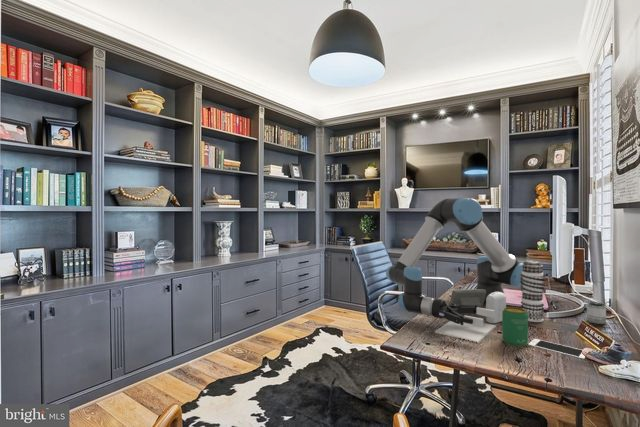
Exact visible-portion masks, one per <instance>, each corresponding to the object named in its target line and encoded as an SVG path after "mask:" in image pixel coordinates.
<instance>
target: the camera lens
mask: <svg viewBox="0 0 640 427" xmlns="http://www.w3.org/2000/svg"><path fill="white" fill-rule="evenodd" d="M586 318H587V321H588V322H589V323H593V324H600V325H604V324H606V320H607V306H606V305H605V304H604V303H601V302H596V301H594V302H593V301H591V302H588V303H587V304H586Z"/></svg>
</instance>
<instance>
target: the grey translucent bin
mask: <svg viewBox="0 0 640 427" xmlns="http://www.w3.org/2000/svg"><path fill="white" fill-rule="evenodd" d="M485 295H486V290H485V289H476V288H474V289H473V288H472V289H469V288H468V289H453V290H452V292H451V296H450V300H449V301H450V302H449V305H452V304H461V305H477V307H478V308H484V304H485V303H484V300H485ZM469 314H470V315H474V314H476V315H477V313H461V315H469Z"/></svg>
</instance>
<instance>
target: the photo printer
mask: <svg viewBox="0 0 640 427" xmlns="http://www.w3.org/2000/svg"><path fill="white" fill-rule="evenodd" d="M504 293H505V292H504ZM504 293H502V292H493V293H491V294H489V295H488V296H487V298H486V303H485V306H486V307H485V309H489V310H495V317H494V318H492V317H487V316H485V320H486V322H487V323H488V324H497V323H500V322H502V311H503V310H504V308H505V307H507V295H506V293H505V294H504Z"/></svg>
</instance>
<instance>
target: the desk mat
mask: <svg viewBox="0 0 640 427" xmlns="http://www.w3.org/2000/svg"><path fill="white" fill-rule="evenodd" d="M456 321H457V320H456ZM495 328H496V324H492V323H486V322H483V327H480V326H476V325H471V324H466V323H464V325H460V324H457V323H454V322H452V321H450V320H449V321H448V322H447V323H445V324H444V325H441V326H440V327H439V328H437V329H436V330H434V333H435V334H440V335H443V336H444V335H445V336H447V337H452V338H456V339H459V338H461V339H460V340H463V339H465V340H464V341H468V340H469V342H472V341H473V342H472V343H476V342H477V343H476V344H479V343H480V342H481V341H482V340H483V339H484V338H485V337H487V336H488V335H489V334H490V333H491V332H492V331H493V330H494V329H495Z"/></svg>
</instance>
